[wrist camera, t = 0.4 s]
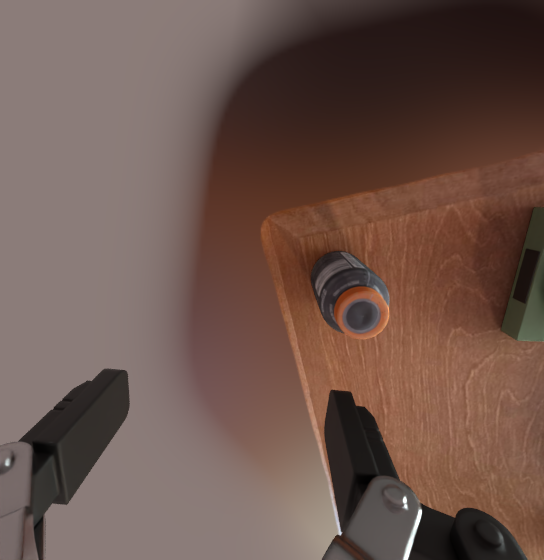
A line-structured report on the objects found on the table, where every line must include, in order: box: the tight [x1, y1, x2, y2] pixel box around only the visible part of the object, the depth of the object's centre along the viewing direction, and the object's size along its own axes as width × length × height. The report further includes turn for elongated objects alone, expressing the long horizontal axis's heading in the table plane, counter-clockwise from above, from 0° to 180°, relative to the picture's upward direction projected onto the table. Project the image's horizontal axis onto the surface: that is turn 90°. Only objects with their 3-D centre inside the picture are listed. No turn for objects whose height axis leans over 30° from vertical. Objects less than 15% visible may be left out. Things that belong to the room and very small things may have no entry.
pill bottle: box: [311, 251, 389, 339], centre depth 28 cm, size 6×6×11 cm
